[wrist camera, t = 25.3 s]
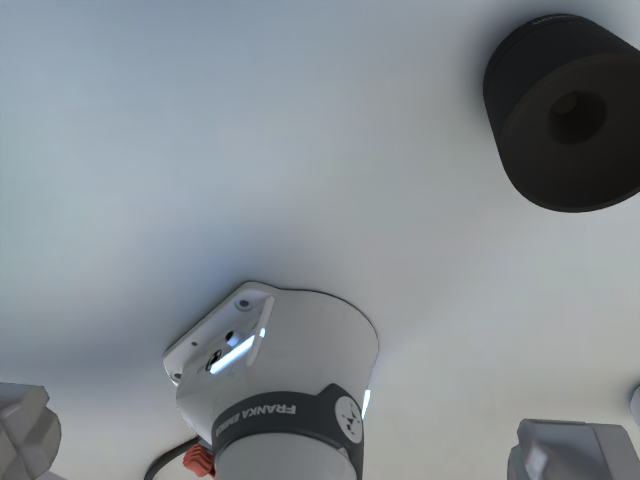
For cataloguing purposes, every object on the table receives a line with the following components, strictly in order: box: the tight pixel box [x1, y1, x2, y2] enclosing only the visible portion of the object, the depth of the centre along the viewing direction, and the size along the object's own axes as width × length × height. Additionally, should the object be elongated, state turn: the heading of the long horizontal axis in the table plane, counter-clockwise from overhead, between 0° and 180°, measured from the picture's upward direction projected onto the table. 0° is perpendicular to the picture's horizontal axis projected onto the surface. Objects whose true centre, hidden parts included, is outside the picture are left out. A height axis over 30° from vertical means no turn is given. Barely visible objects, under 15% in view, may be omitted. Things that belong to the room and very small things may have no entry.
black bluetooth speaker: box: [483, 14, 640, 213], centre depth 34 cm, size 9×9×10 cm
